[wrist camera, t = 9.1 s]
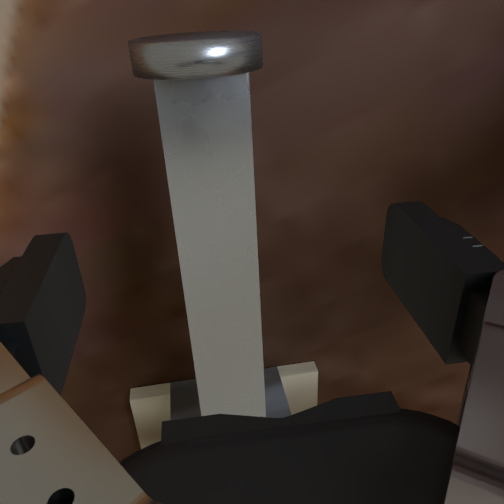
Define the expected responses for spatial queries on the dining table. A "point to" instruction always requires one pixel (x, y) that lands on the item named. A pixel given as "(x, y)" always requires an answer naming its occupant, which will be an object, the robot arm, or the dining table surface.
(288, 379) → the frame
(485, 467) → the robot arm
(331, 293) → the dining table surface
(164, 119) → the shaft
